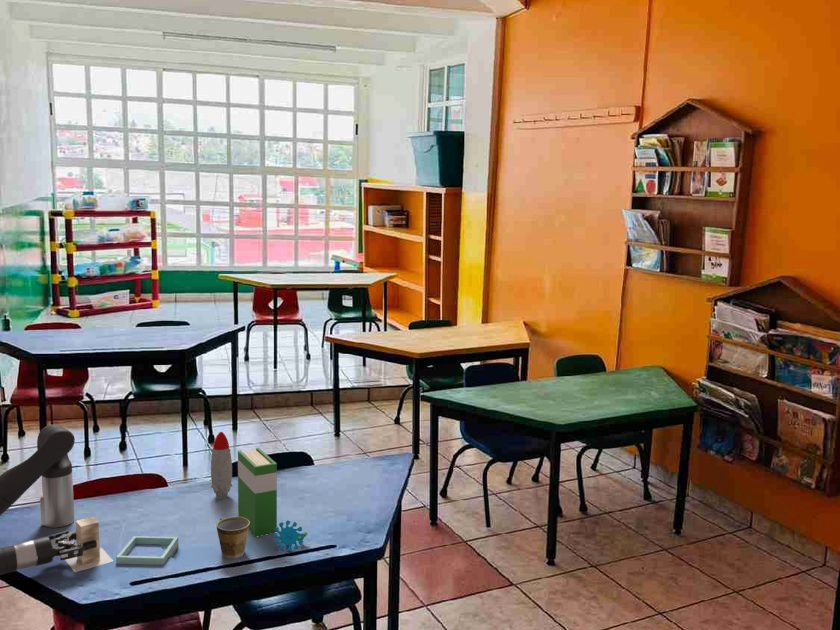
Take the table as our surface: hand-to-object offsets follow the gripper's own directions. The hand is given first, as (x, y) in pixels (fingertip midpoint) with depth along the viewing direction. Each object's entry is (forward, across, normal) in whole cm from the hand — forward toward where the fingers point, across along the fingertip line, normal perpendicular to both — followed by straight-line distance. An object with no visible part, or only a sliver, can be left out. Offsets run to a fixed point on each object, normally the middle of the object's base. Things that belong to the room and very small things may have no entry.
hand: (91, 538), depth 220 cm
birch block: (-1, 0, -6) cm, 7 cm away
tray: (+14, +6, -8) cm, 18 cm away
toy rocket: (+53, -24, -8) cm, 59 cm away
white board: (-1, 0, -8) cm, 8 cm away
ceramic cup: (+36, +18, -8) cm, 41 cm away
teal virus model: (+53, +26, -8) cm, 59 cm away
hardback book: (+52, +5, -8) cm, 53 cm away
